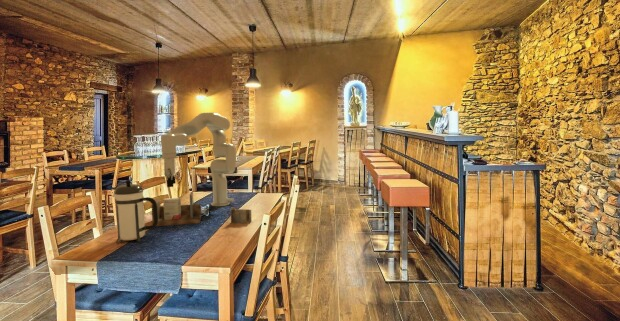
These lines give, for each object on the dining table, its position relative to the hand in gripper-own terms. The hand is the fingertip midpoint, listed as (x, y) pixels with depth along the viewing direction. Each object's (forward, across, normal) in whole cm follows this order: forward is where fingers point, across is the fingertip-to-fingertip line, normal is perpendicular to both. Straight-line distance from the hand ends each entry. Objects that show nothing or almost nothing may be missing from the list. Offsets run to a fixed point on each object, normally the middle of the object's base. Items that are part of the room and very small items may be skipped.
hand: (171, 185), depth 206 cm
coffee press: (+21, +30, -15) cm, 39 cm away
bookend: (+20, +1, +12) cm, 23 cm away
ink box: (+20, +1, 0) cm, 20 cm away
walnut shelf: (+21, +1, +2) cm, 21 cm away
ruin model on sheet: (+22, +14, +38) cm, 46 cm away
